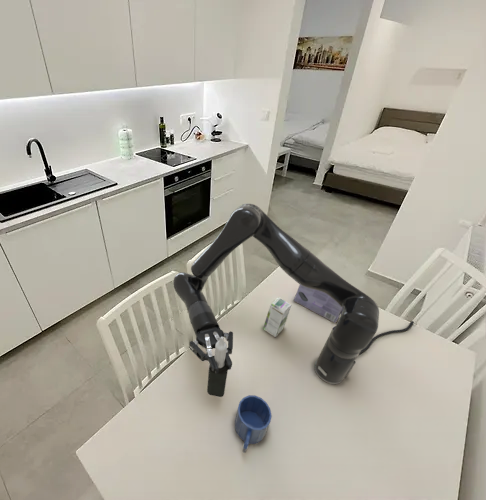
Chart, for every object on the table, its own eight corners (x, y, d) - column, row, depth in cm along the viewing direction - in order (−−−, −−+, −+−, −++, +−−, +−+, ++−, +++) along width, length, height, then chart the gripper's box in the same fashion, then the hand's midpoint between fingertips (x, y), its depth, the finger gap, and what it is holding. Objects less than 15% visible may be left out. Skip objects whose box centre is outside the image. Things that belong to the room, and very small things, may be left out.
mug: (239, 405, 88) (242, 390, 83) (268, 418, 86) (274, 403, 80) (227, 448, 79) (230, 434, 74) (259, 463, 76) (265, 450, 71)
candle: (223, 397, 84) (231, 348, 68) (206, 394, 84) (210, 344, 69) (225, 381, 88) (233, 330, 72) (209, 378, 88) (213, 327, 73)
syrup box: (270, 321, 115) (277, 296, 106) (283, 329, 112) (292, 304, 103) (262, 329, 112) (269, 304, 103) (276, 338, 108) (284, 313, 100)
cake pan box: (342, 318, 117) (357, 287, 106) (337, 325, 114) (353, 294, 103) (297, 295, 127) (308, 264, 116) (292, 301, 124) (303, 270, 113)
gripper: (180, 316, 84) (198, 369, 71) (224, 306, 87) (249, 354, 74) (181, 332, 88) (197, 384, 75) (223, 322, 92) (246, 370, 78)
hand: (223, 369), depth 75 cm, fingers closed on candle, 3 cm apart
